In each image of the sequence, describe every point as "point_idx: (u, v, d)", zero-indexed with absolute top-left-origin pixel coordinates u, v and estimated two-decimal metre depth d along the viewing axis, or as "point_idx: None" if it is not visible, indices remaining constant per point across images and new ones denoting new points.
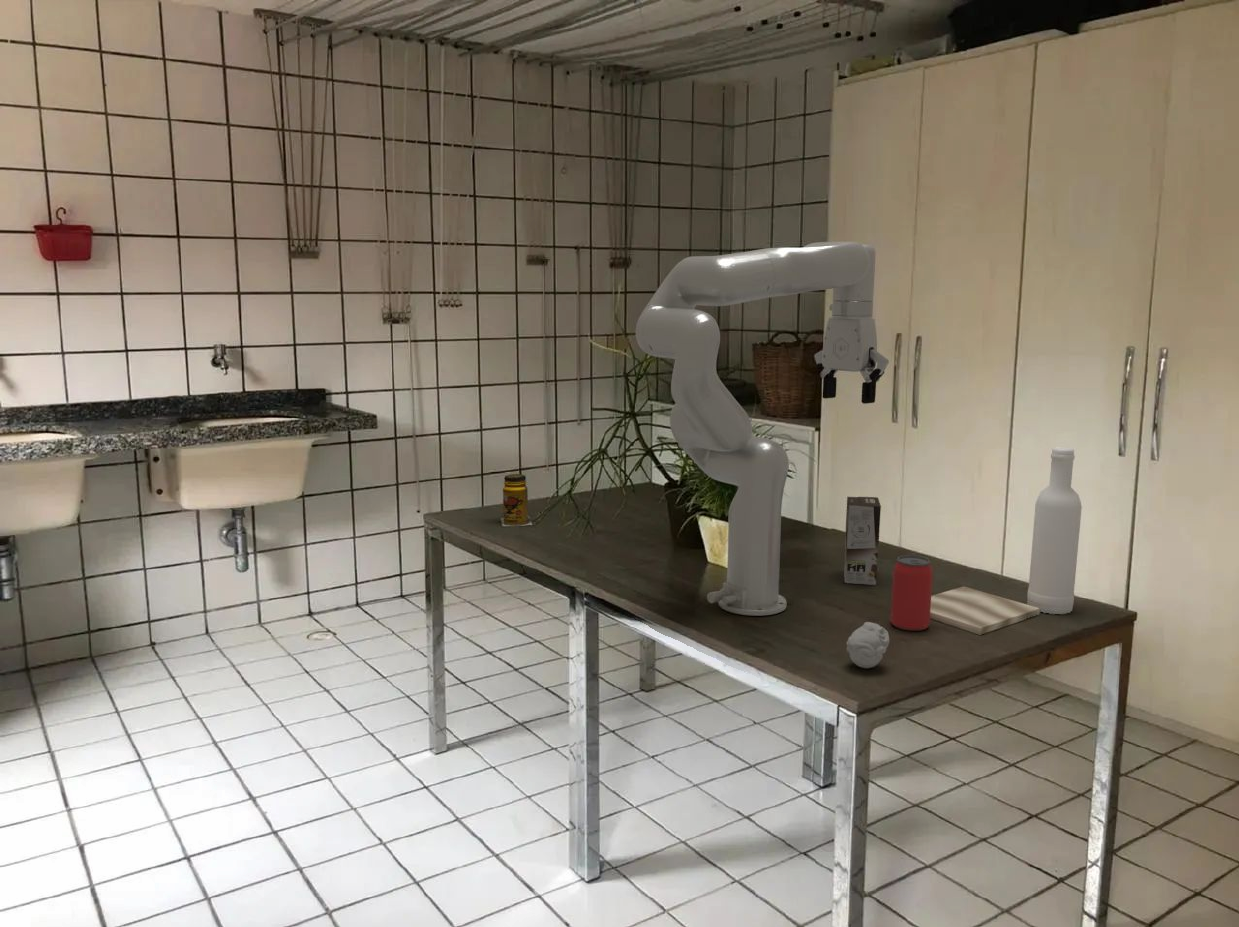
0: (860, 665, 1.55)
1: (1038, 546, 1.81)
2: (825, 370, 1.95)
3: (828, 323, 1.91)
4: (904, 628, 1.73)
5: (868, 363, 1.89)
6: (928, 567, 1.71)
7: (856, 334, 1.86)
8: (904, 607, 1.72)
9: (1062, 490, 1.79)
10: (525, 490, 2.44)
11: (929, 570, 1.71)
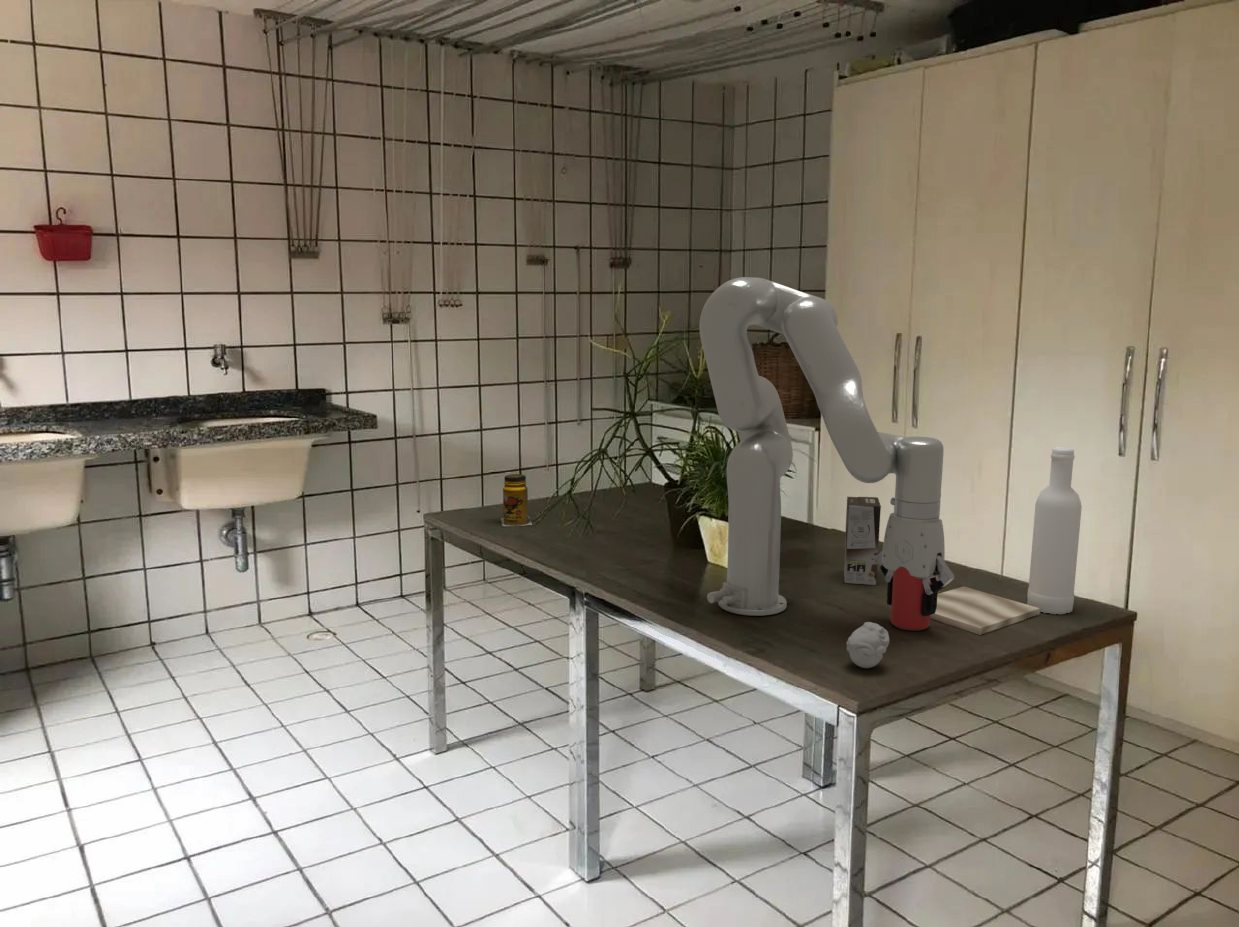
0: (860, 664, 1.55)
1: (1038, 546, 1.81)
2: (889, 573, 1.76)
3: (889, 521, 1.73)
4: (904, 628, 1.73)
5: None
6: None
7: (922, 539, 1.68)
8: (904, 607, 1.72)
9: (1062, 490, 1.79)
10: (525, 490, 2.44)
11: None
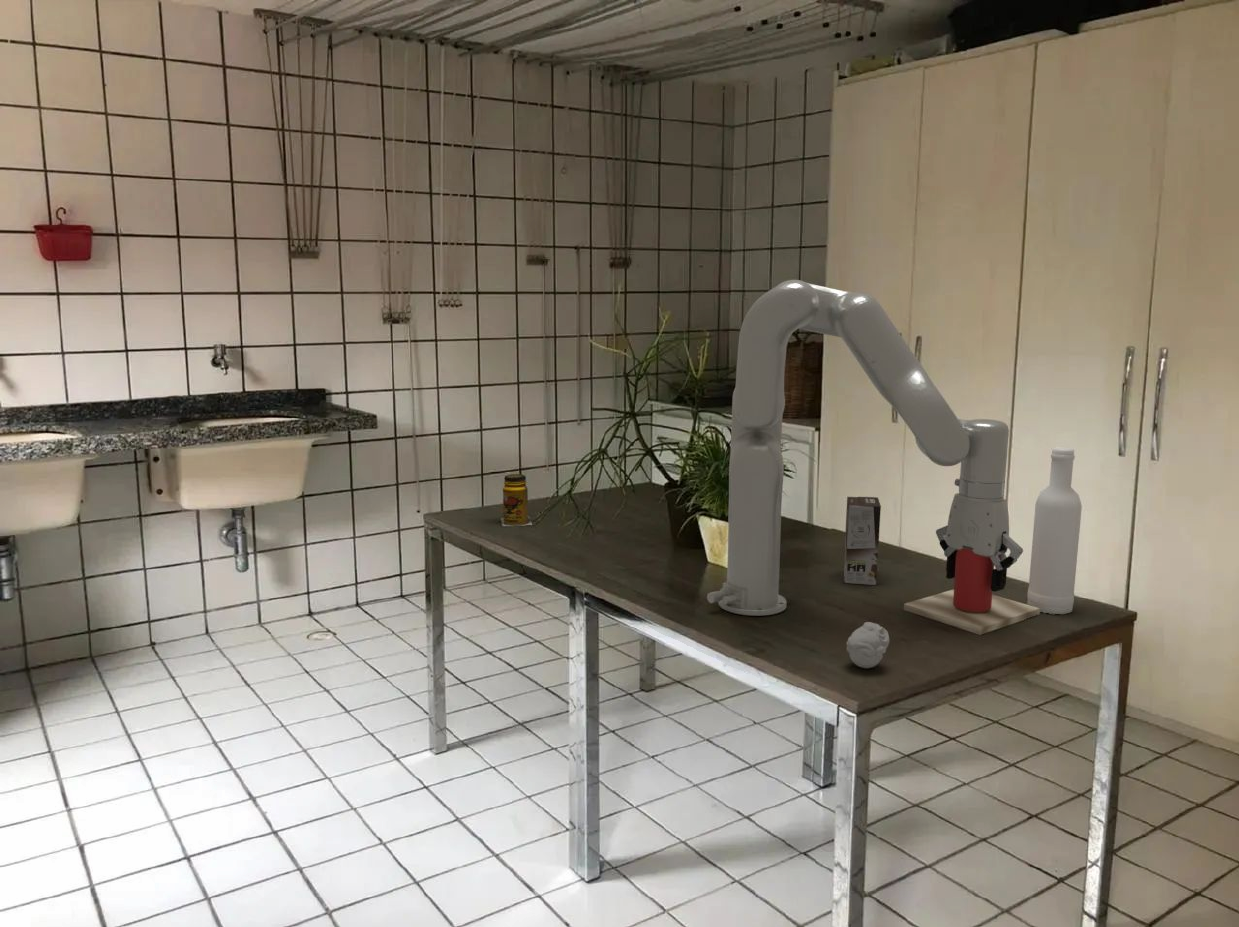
0: (860, 665, 1.55)
1: (1038, 546, 1.81)
2: (949, 549, 1.82)
3: (954, 501, 1.79)
4: (967, 610, 1.78)
5: None
6: None
7: (988, 518, 1.73)
8: (967, 590, 1.77)
9: (1062, 490, 1.79)
10: (525, 490, 2.44)
11: None
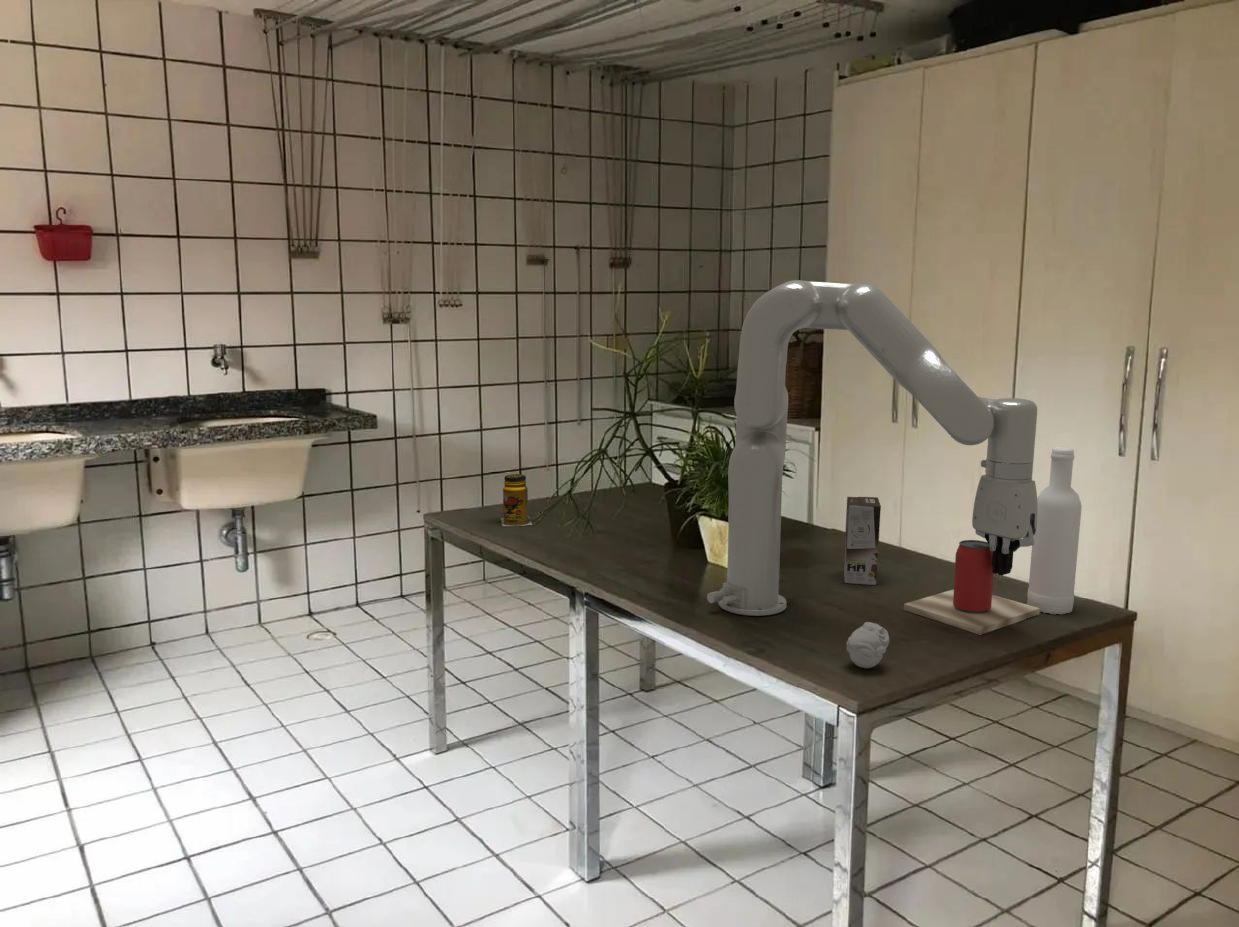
0: (860, 665, 1.55)
1: (1038, 546, 1.81)
2: (991, 541, 1.75)
3: (981, 482, 1.74)
4: (967, 610, 1.78)
5: None
6: (990, 550, 1.77)
7: (1016, 499, 1.68)
8: (967, 589, 1.78)
9: (1061, 490, 1.79)
10: (525, 490, 2.44)
11: (991, 553, 1.77)
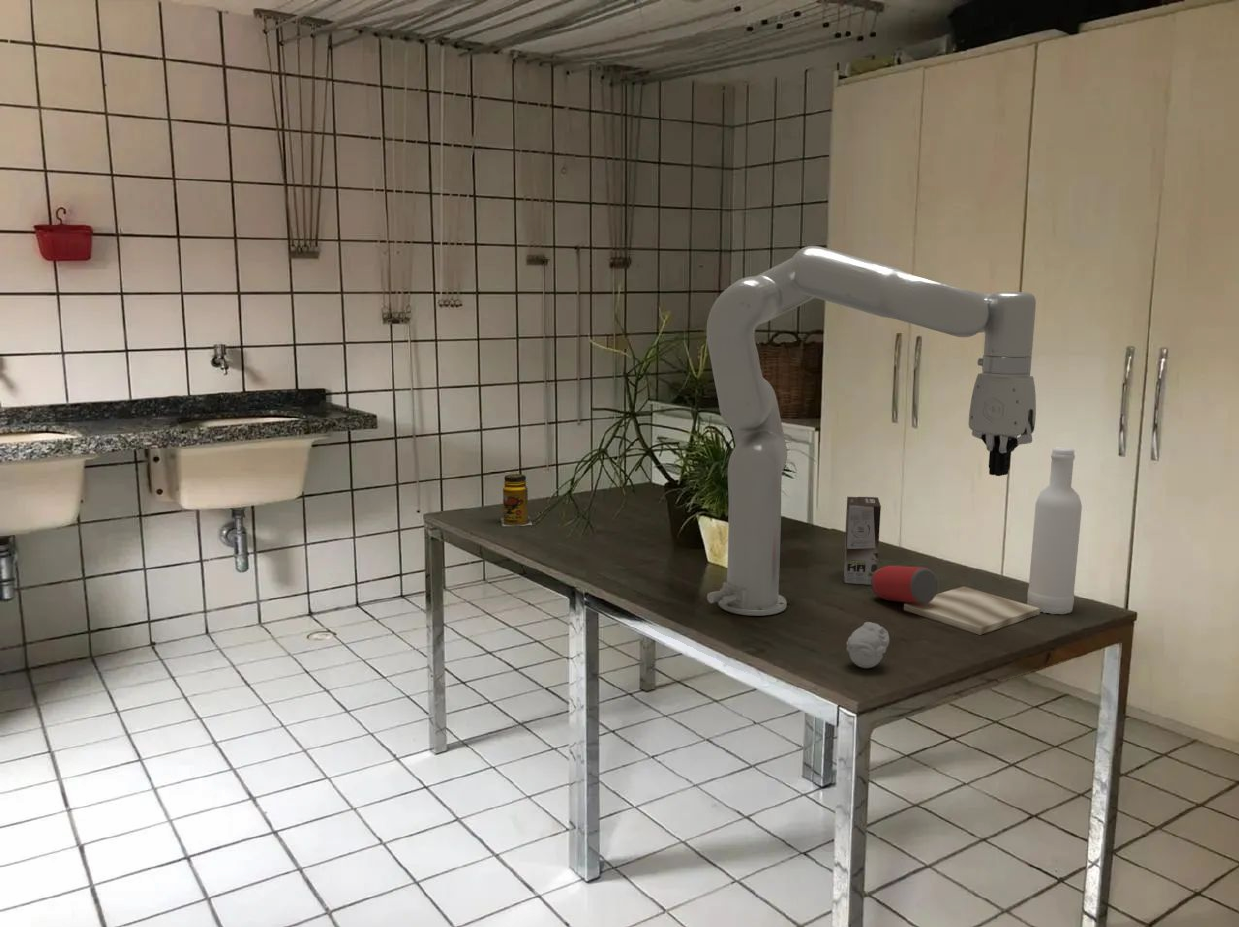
0: (860, 665, 1.55)
1: (1038, 546, 1.81)
2: (988, 441, 1.70)
3: (977, 380, 1.69)
4: (924, 603, 1.80)
5: None
6: (873, 585, 1.89)
7: (1014, 394, 1.63)
8: None
9: (1062, 490, 1.79)
10: (525, 490, 2.44)
11: (874, 586, 1.88)
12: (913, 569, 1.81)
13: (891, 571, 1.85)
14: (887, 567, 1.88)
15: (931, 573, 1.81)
